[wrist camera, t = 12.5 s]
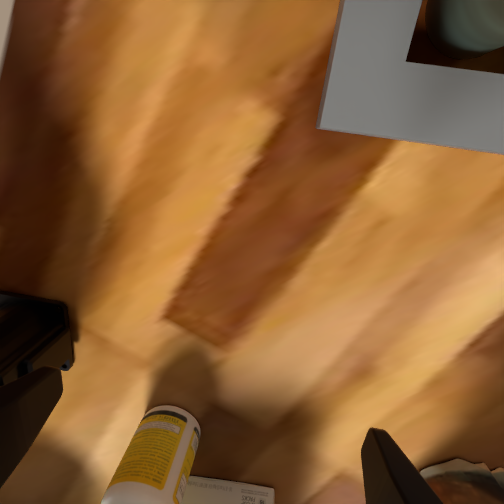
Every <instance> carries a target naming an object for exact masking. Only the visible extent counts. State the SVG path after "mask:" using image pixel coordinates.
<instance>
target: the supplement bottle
mask: <svg viewBox="0 0 504 504" xmlns="http://www.w3.org/2000/svg"><path fill="white" fill-rule="evenodd" d="M200 435H201V431H200V426H199V424H198V422H197V420H196V419H195V418H194V417H193V416H192V415H191V414H190V413H188V412H187V411H185V410H183V409H181V408H179V407H175V406H170V405H163V406H157V407H154V408H153V409H151V410H149V411H148V412H147V413H146V414H145V416H144V417H143V419H142V420H141V422H140V424H139V426H138V428H137V430H136V432H135V434H134V436H133V438H132V440H131V442H130V444H129V446H128V448H127V450H126V452H125V454H124V456H123V458H122V460H121V462H120V464H119V466H118V468H117V470H116V472H115V474H114V476H113V478H112V480H111V482H110V484H109V486H108V488H107V490H106V492H105V494H104V496H103V499H102V501H101V504H181V503H182V500H183V496H184V493H185V489H186V486H187V482H188V479H189V475H190V472H191V468H192V465H193V461H194V458H195V454H196V451H197V448H198V444H199V440H200Z"/></svg>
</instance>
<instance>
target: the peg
mask: <svg viewBox="0 0 504 504" xmlns="http://www.w3.org/2000/svg"><path fill="white" fill-rule="evenodd" d="M425 21H426V29H427V33H428V36H429V38H430V40H431V42H432V44H433V45H434V46H435V48H436V49H438V50H439V51H440V52H441V53H443V54H444V55H446V56H448V57H451V58H455V59H470V58H474V57H478V56H481V55H483V54H485V53H488V52H490V51H493V50H495V49H498V48H500V47H502V46H504V0H428V2H427V6H426V15H425Z"/></svg>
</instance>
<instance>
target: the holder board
mask: <svg viewBox="0 0 504 504" xmlns="http://www.w3.org/2000/svg"><path fill="white" fill-rule="evenodd" d="M421 3H422V0H340V4H339V10H338V15H337V20H336V25H335V30H334V35H333V41H332V46H331V51H330V56H329V61H328V66H327V72H326V77H325V82H324V87H323V92H322V98H321V103H320V108H319V113H318V118H317V123H316V128H317V129H324V130H331V131H338V132H345V133H352V134H359V135H367V136H374V137H381V138H388V139H395V140H402V141H409V142H416V143H423V144H431V145H438V146H445V147H452V148H459V149H466V150H473V151H480V152H487V153H494V154H502V155H504V74H498V73H490V72H483V71H475V70H467V69H459V68H451V67H443V66H436V65H428V64H420V63H412V62H405V61H406V58H407V54H408V50H409V47H410V43H411V39H412V36H413V32H414V28H415V25H416V21H417V17H418V14H419V10H420V6H421Z"/></svg>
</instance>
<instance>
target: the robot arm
mask: <svg viewBox="0 0 504 504" xmlns="http://www.w3.org/2000/svg"><path fill="white" fill-rule="evenodd" d="M58 307H59V308H60V309H61V310H60V309H59V308H58ZM72 366H73V359H72V347H71V338H70V330H69V320H68V310H67V306H66V304H65V303H63V302H60V301H55V300H49V299H43V298H38V297H32V296H26V295H21V294H15V293H10V292H4V291H0V488H1V487H2V486H3V484H4V483H5V481H6V480H7V479H8V477H9V476H10V475H11V473H12V472H13V471H14V469H15V468H16V466H17V465H18V464H19V462H20V461H21V460H22V458H23V457H24V455H25V454H26V453H27V451H28V450H29V448H30V447H31V445H32V443H33V442H34V440H35V439H36V437H37V435H38V434H39V432H40V430H41V429H42V427H43V425H44V424H45V422H46V421H47V419H48V417H49V416H50V414H51V412H52V411H53V409H54V407H55V406H56V404H57V403H58V401H59V399H60V397H61V395H62V392H63V384H62V375H61V370H63V371H68V370H69V369H70V368H71V367H72ZM361 460H362V469H363V479H364V489H365V498H366V504H444V503H443V502H442V501H441V499H440V498H439V497H438V495H437V494H436V493H435V492H434V490H433V489H432V488H431V487H430V485H429V484H428V483H427V482H426V480H425V479H424V478H423V477H422V475H421V474H420V473H419V472H418V470H417V469H416V468H415V467H414V465H413V464H412V463H411V461H410V460H409V459H408V458H407V456H406V455H405V454H404V453H403V451H402V450H401V449H400V448H399V446H398V445H397V444H396V443H395V441H394V440H393V439H392V438H391V436H390V435H389V434H388V433H387V432H386V431H385V430H383V429H378V428H373V427H372V428H370V429H369V430H368V432H367V435H366V437H365V440H364V443H363V445H362V449H361Z"/></svg>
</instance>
